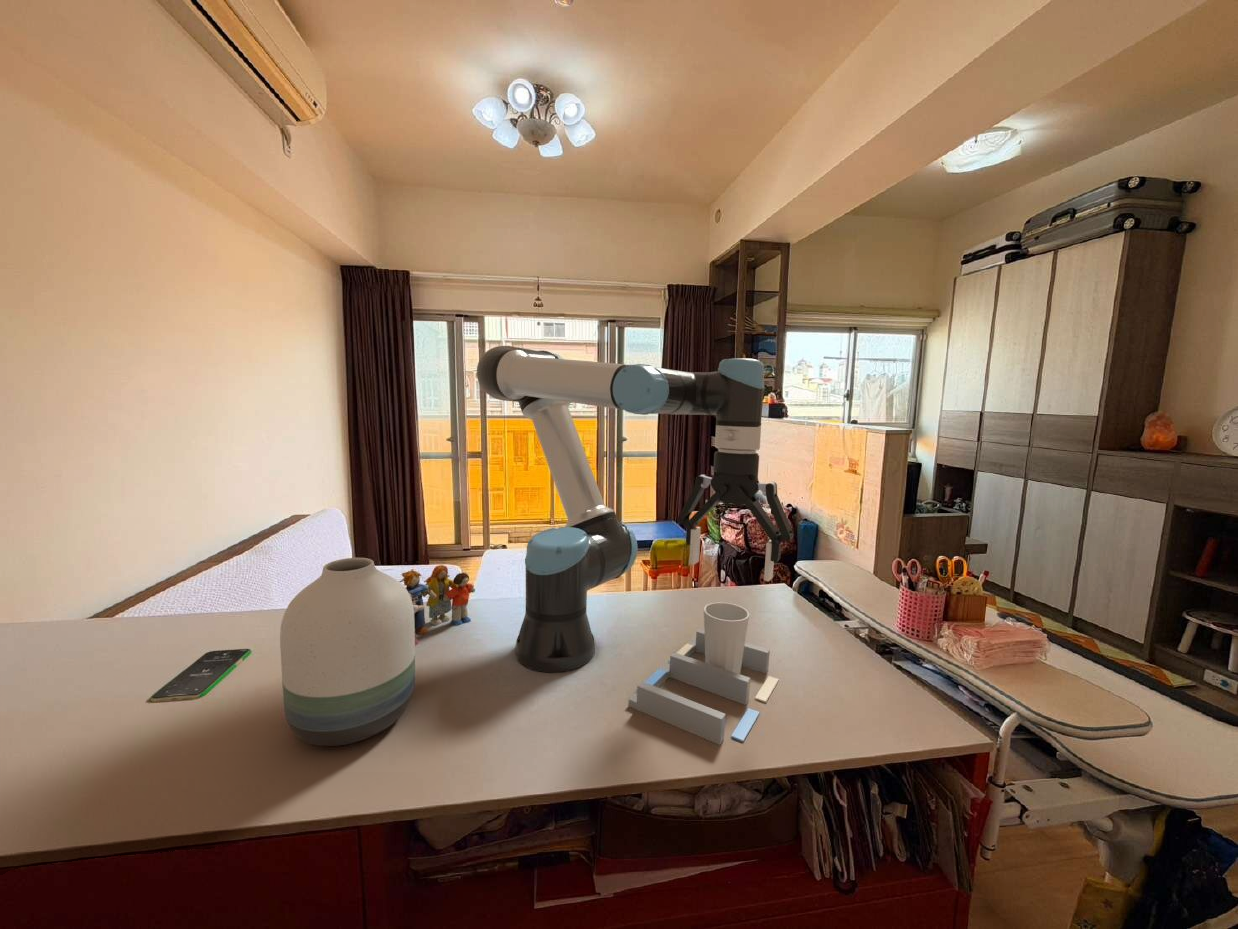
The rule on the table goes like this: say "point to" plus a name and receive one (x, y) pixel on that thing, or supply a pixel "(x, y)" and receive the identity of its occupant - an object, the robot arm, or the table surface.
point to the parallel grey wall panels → (709, 679)
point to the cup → (725, 635)
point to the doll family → (438, 597)
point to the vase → (347, 654)
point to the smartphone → (201, 675)
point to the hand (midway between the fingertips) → (729, 570)
